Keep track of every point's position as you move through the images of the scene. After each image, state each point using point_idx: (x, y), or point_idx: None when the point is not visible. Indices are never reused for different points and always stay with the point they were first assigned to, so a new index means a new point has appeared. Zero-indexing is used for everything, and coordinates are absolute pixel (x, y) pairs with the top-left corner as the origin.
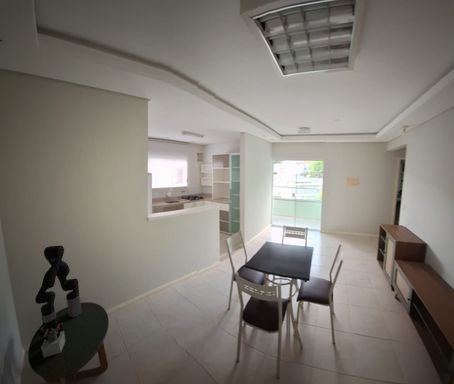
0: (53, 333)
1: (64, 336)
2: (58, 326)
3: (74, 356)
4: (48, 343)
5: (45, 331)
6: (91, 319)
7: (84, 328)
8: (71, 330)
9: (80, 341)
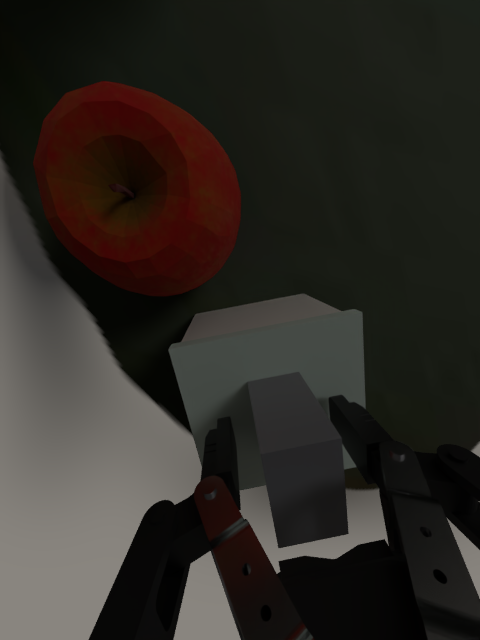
0: (339, 508)
1: (323, 304)
2: (220, 170)
3: (406, 426)
4: (261, 461)
5: (87, 261)
6: (468, 17)
7: (419, 166)
8: (305, 162)
9: (416, 318)
